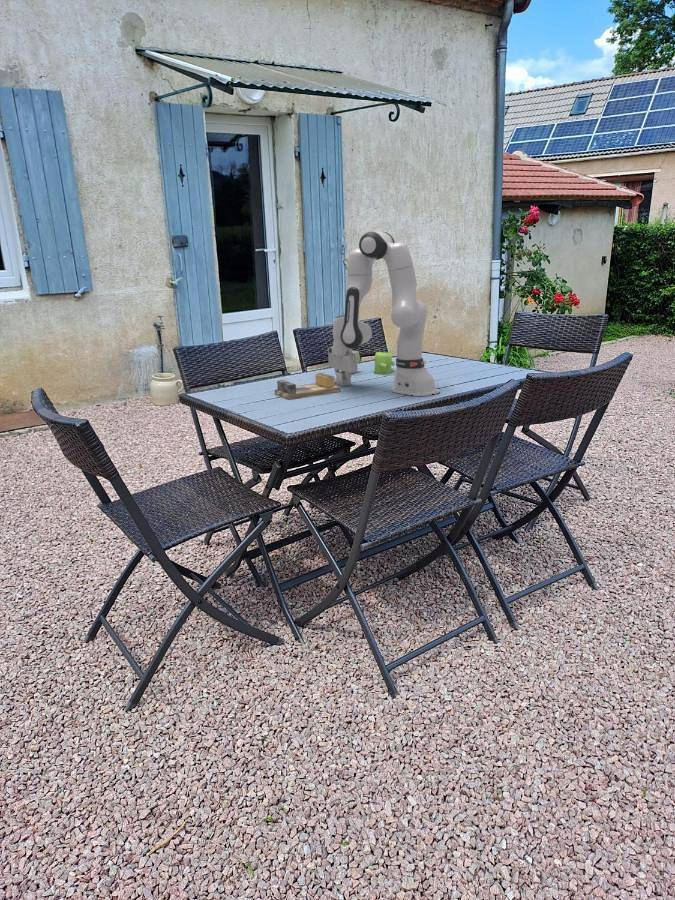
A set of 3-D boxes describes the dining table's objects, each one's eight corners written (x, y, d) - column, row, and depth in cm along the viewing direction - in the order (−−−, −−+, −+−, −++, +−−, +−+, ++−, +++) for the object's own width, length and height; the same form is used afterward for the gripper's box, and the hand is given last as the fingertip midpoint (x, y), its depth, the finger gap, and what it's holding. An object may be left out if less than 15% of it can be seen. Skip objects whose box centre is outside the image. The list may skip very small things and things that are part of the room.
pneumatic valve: (339, 374, 338) (339, 350, 334) (355, 370, 346) (355, 347, 342) (347, 375, 334) (347, 351, 330) (363, 372, 342) (363, 348, 338)
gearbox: (393, 376, 332) (394, 357, 329) (374, 375, 333) (374, 357, 330) (394, 369, 349) (395, 351, 346) (375, 368, 350) (376, 350, 347)
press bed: (340, 391, 299) (340, 378, 298) (289, 399, 287) (288, 386, 285) (324, 386, 311) (324, 373, 309) (274, 393, 298) (274, 380, 296)
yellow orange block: (334, 386, 299) (334, 375, 298) (326, 387, 297) (326, 376, 296) (323, 382, 308) (322, 372, 306) (315, 383, 306) (315, 373, 304)
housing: (350, 385, 313) (350, 368, 310) (341, 386, 310) (341, 369, 308) (345, 383, 317) (344, 366, 315) (336, 384, 315) (335, 367, 312)
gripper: (360, 352, 302) (361, 382, 306) (337, 347, 319) (337, 375, 323) (348, 354, 299) (349, 384, 303) (325, 348, 316) (326, 377, 320)
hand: (343, 379), depth 313 cm, fingers open, 7 cm apart
